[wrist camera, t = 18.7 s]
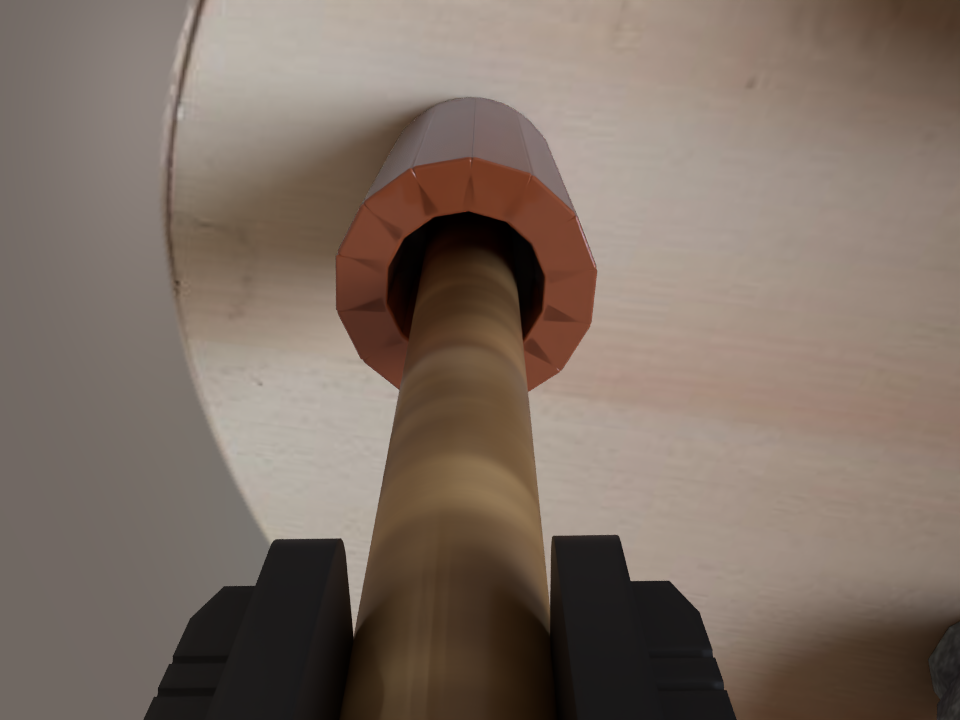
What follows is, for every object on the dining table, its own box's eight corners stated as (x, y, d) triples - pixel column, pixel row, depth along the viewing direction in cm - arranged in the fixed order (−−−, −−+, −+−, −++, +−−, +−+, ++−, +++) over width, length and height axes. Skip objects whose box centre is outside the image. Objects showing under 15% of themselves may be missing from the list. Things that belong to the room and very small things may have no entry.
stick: (416, 242, 26) (193, 1259, 6) (454, 172, 25) (341, 1093, 5) (486, 278, 27) (497, 1331, 6) (525, 211, 26) (684, 1193, 6)
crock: (358, 217, 32) (292, 339, 21) (437, 62, 30) (410, 106, 19) (502, 293, 33) (512, 448, 22) (588, 148, 31) (647, 239, 20)
